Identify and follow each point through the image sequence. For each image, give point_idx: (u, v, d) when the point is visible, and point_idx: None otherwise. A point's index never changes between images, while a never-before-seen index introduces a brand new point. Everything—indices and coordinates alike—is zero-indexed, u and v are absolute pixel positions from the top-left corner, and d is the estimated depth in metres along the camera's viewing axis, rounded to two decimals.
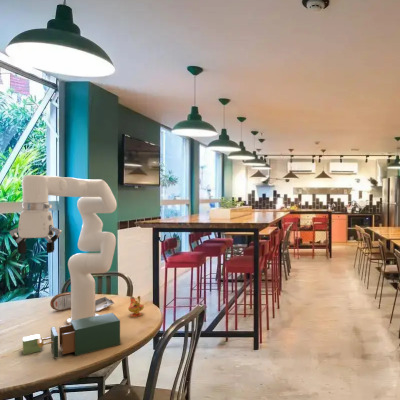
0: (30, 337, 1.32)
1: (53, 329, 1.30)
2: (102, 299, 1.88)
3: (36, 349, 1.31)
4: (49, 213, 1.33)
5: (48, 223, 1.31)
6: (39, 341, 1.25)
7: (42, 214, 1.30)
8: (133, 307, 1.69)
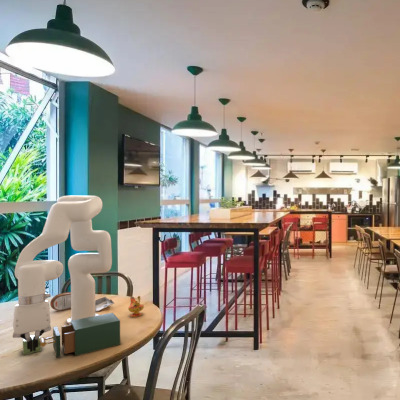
0: None
1: (55, 329, 1.31)
2: (102, 299, 1.88)
3: (36, 349, 1.31)
4: None
5: (49, 313, 1.27)
6: (41, 340, 1.25)
7: (44, 305, 1.25)
8: (133, 307, 1.69)
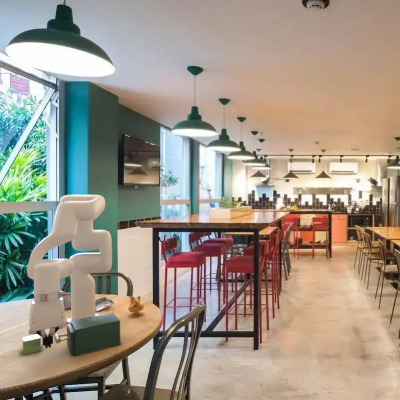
0: (30, 337, 1.32)
1: (69, 326, 1.34)
2: (102, 299, 1.88)
3: (36, 349, 1.31)
4: (62, 300, 1.30)
5: (64, 310, 1.30)
6: (56, 337, 1.28)
7: (59, 302, 1.28)
8: (133, 307, 1.69)
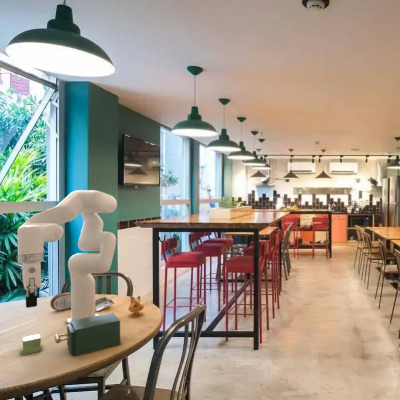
0: (30, 337, 1.32)
1: (69, 326, 1.34)
2: (102, 299, 1.88)
3: (36, 349, 1.31)
4: (32, 265, 1.28)
5: (28, 276, 1.27)
6: (56, 337, 1.28)
7: (24, 266, 1.28)
8: (133, 307, 1.69)
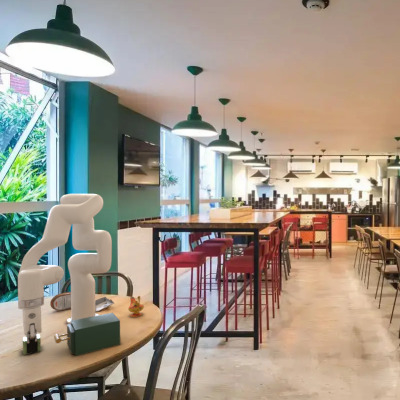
0: None
1: (69, 326, 1.34)
2: (102, 299, 1.88)
3: None
4: (32, 311, 1.29)
5: (28, 322, 1.28)
6: (56, 337, 1.28)
7: (24, 312, 1.28)
8: (133, 307, 1.69)
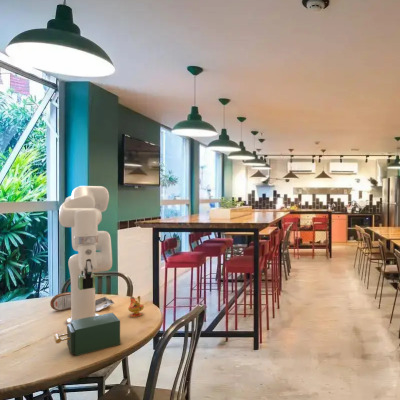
0: None
1: (69, 326, 1.34)
2: (102, 299, 1.88)
3: None
4: (89, 247, 1.33)
5: (85, 257, 1.32)
6: (56, 337, 1.28)
7: (81, 248, 1.32)
8: (133, 307, 1.69)
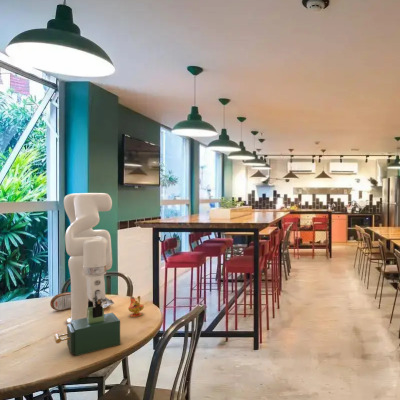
0: None
1: (69, 326, 1.34)
2: (102, 299, 1.88)
3: (100, 318, 1.36)
4: (97, 278, 1.34)
5: (94, 288, 1.33)
6: (56, 337, 1.28)
7: (90, 279, 1.33)
8: (133, 307, 1.69)
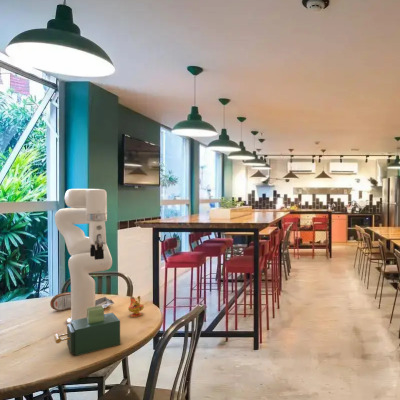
0: (93, 308, 1.37)
1: (69, 326, 1.34)
2: (102, 299, 1.88)
3: (100, 318, 1.36)
4: (99, 223, 1.46)
5: (96, 232, 1.45)
6: (56, 337, 1.28)
7: (92, 224, 1.45)
8: (133, 307, 1.69)
